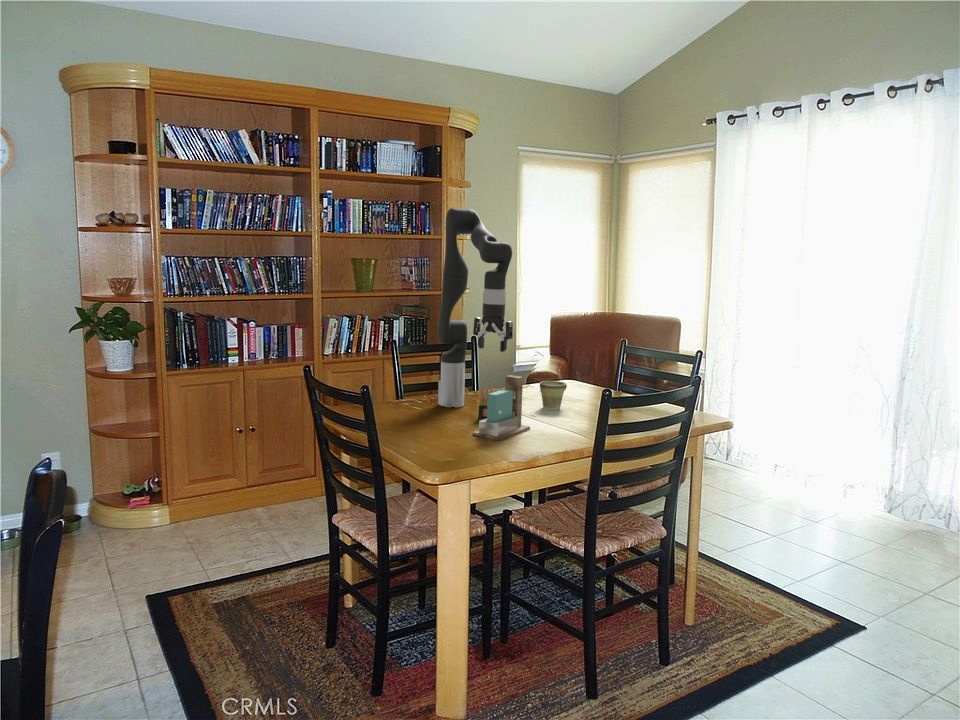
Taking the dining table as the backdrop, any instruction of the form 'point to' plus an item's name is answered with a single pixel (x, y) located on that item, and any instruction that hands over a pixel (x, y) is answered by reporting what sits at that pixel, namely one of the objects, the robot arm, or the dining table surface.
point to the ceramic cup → (552, 394)
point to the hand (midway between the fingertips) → (491, 349)
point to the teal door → (499, 405)
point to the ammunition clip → (484, 402)
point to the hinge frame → (509, 425)
